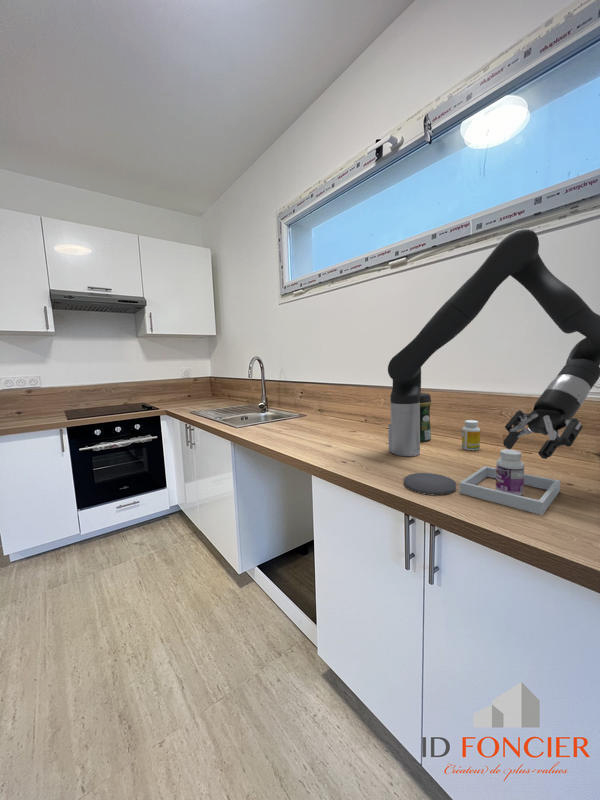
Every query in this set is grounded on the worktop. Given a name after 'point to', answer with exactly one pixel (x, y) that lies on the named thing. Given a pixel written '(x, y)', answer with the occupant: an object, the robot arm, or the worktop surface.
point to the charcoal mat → (430, 483)
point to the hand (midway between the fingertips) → (523, 451)
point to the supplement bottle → (471, 435)
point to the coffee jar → (425, 417)
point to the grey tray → (509, 499)
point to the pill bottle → (510, 472)
